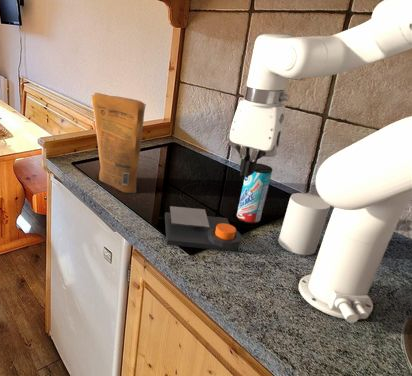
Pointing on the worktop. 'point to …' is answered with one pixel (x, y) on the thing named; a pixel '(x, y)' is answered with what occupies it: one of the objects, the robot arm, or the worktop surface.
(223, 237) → the button
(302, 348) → the worktop surface
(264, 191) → the beverage can
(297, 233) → the cup
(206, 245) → the scale
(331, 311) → the robot arm
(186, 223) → the weighing pan
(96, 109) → the pancake mix bag
